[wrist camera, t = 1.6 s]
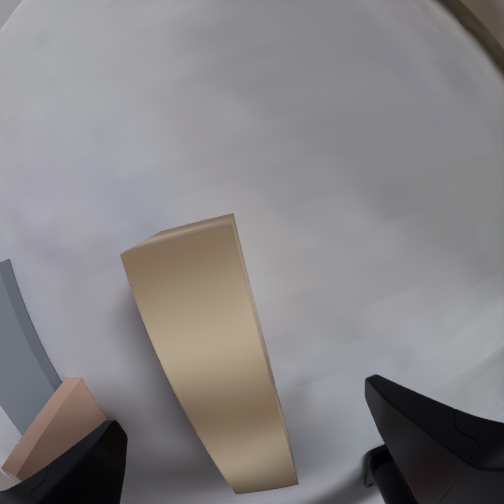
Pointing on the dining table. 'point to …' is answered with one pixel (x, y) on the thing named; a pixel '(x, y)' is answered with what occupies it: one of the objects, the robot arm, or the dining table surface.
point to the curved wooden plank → (214, 348)
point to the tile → (55, 429)
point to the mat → (21, 358)
